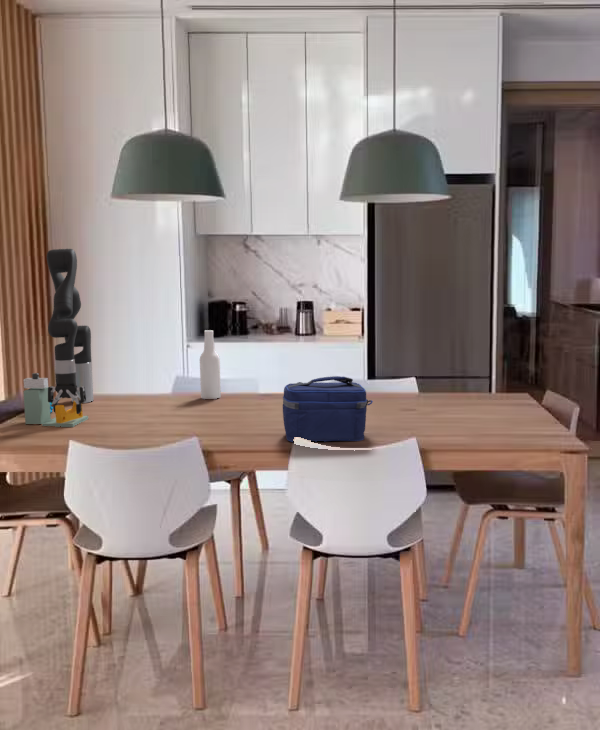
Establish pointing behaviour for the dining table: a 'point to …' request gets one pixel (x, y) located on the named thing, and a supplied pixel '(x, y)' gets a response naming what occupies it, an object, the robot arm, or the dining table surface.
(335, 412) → the lunch bag
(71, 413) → the yellow notched block
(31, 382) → the grey block
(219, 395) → the alcohol
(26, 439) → the dining table surface
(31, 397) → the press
